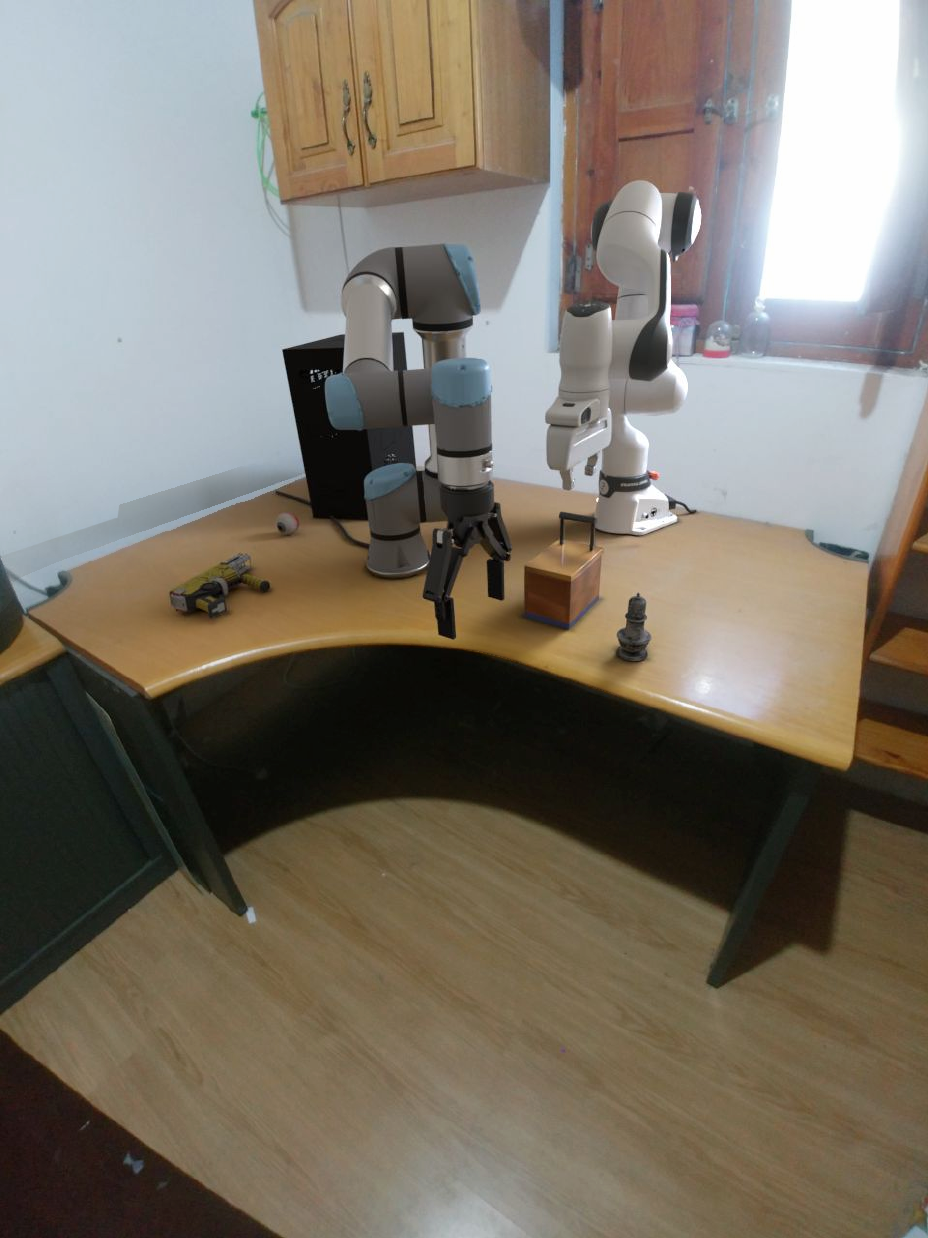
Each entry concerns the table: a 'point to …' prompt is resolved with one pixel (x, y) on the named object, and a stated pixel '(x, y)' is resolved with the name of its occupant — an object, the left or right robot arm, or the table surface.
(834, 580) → the table surface
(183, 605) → the toy gun
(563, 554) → the lid
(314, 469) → the black computer case
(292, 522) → the eyeball
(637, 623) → the grey chess piece
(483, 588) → the table surface
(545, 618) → the chest
